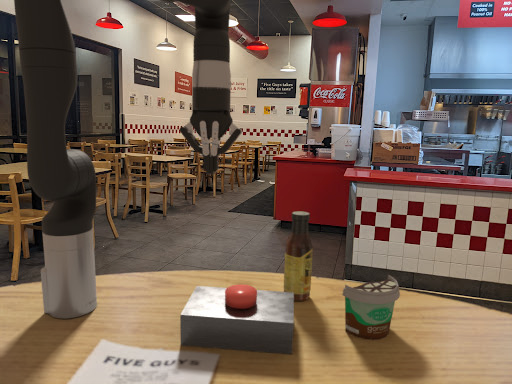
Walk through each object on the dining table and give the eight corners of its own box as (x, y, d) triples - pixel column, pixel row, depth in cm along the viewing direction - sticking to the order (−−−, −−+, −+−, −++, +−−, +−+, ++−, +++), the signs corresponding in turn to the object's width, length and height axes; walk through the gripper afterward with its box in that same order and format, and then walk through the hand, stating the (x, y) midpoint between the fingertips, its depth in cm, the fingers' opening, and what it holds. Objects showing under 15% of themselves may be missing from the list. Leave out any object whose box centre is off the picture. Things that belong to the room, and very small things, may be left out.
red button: (222, 331, 72) (222, 297, 71) (227, 315, 78) (227, 283, 76) (254, 334, 71) (255, 299, 70) (257, 317, 77) (258, 285, 76)
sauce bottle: (309, 304, 87) (314, 218, 83) (281, 300, 88) (285, 215, 84) (311, 291, 93) (315, 211, 89) (285, 288, 94) (288, 209, 91)
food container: (361, 350, 70) (366, 298, 68) (339, 333, 75) (343, 284, 74) (409, 334, 76) (415, 286, 74) (385, 319, 81) (390, 274, 79)
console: (180, 345, 70) (180, 314, 69) (196, 312, 82) (196, 285, 80) (292, 354, 68) (293, 323, 67) (292, 319, 80) (293, 292, 79)
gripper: (172, 84, 73) (173, 175, 77) (242, 85, 72) (240, 177, 76) (183, 87, 81) (184, 170, 84) (247, 88, 80) (245, 172, 83)
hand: (210, 173), depth 80 cm, fingers closed
